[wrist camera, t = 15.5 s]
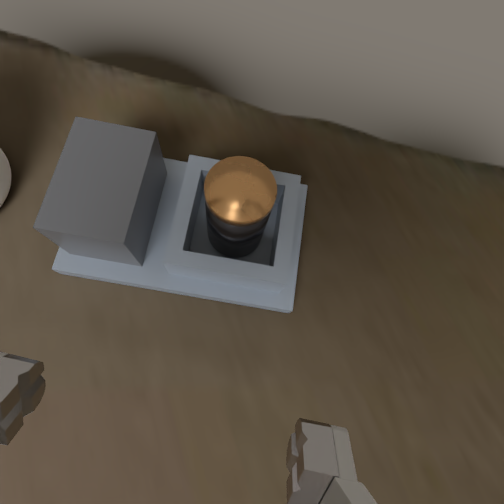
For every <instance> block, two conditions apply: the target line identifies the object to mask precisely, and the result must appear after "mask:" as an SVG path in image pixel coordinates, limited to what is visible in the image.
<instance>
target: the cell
mask: <svg viewBox="0 0 504 504" xmlns="http://www.w3.org/2000/svg"><path fill="white" fill-rule="evenodd" d="M204 196H205V208H206V220H207V233H208V238H209V241H210V243H211V245H212V246H213V247H214V249H215V250H216V251H218V252H219V253H221V254H222V255H225V256H228V257H234V258H238V257H243V256H246V255H248V254H250V253H252V252H253V251H254V250H255V249H256V248H257V247H258V245H259V244H260V241H261V239H262V236H263V233H264V230H265V228H266V225H267V222H268V219H269V217H270V214H271V211H272V208H273V205H274V203H275V200H276V196H277V184H276V180H275V178H274V176H273V174H272V172H271V171H270V170H269V169H268V168H267V167H266V166H265V165H264V164H263V163H261V162H260V161H258V160H256V159H253V158H251V157H246V156H232V157H228V158H225V159H223V160H221V161H219V162H217V163H216V164H215V165H214V166H213V167H212V168H211V169H210V170H209V172H208V174H207V176H206V178H205V182H204Z"/></svg>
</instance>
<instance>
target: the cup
mask: <svg viewBox="0 0 504 504" xmlns="http://www.w3.org/2000/svg"><path fill="white" fill-rule="evenodd" d="M10 186H11V168H10V164H9V162H8V159H7V157H6V155H5V154H4V152H3V151H2V150H1V148H0V207H1V206H2V204H3V203H4V201H5V199H6V197H7V195H8V193H9V190H10Z"/></svg>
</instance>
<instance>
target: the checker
mask: <svg viewBox="0 0 504 504" xmlns="http://www.w3.org/2000/svg"><path fill="white" fill-rule="evenodd" d="M219 161H221V160H216V159H211V158H206V157H201V156H195V155H189V159H188V162H183V161H178V160H172V159H167V158H163V156H162V152H161V148H160V144H159V141H158V137H157V133H156V132H154V131H149V130H143V129H138V128H133V127H128V126H123V125H118V124H112V123H107V122H102V121H97V120H92V119H86V118H81V117H75V120H74V122H73V125H72V127H71V130H70V133H69V135H68V138H67V140H66V143H65V146H64V148H63V151H62V153H61V156H60V159H59V161H58V164H57V166H56V169H55V172H54V174H53V177H52V179H51V182H50V184H49V187H48V190H47V192H46V195H45V197H44V200H43V203H42V205H41V208H40V210H39V213H38V216H37V218H36V221H35V223H34V226H33V228H35V229H36V230H37V231H39V232H40V233H41V234H43V235H44V236H46V237H47V238H48V239H50V240H51V241H53V242H54V243H55V244H57V245H58V246H60V247H59V250H58V253H57V255H56V258H55V261H54V264H53V267H52V270H54V271H56V272H58V273H60V274H65V275H71V276H77V277H82V278H88V279H94V280H100V281H106V282H111V283H117V284H123V285H129V286H134V287H140V288H146V289H152V290H158V291H163V292H169V293H175V294H181V295H186V296H192V297H198V298H204V299H209V300H215V301H221V302H227V303H233V304H238V305H244V306H250V307H256V308H261V309H267V310H273V311H279V312H285V313H290V312H292V311H293V303H294V294H295V286H296V278H297V269H298V261H299V252H300V244H301V236H302V227H303V219H304V211H305V202H306V194H307V186H308V185H304V184H300V181H301V176H300V175H295V174H290V173H284V172H279V171H274V170H270V171H271V172H272V174H273V176H274V178H275V180H276V184H277V196H276V200H275V203H274V205H273V208H272V211H271V214H270V217H269V219H268V222H267V225H266V228H265V230H264V233H263V236H262V239H261V241H260V244H259V245H258V247H257V248H256V249H255V250H254V251H253V252H252V253H250V254H248V255H246V256H243V257H238V258H234V257H228V256H225V255H222V254H221V253H219V252H218V251H216V250H215V249H214V247H213V246H212V245H211V243H210V241H209V238H208V233H207V220H206V208H205V196H204V182H205V178H206V176H207V174H208V172H209V170H210V169H211V168H212V167H213V166H214V165H215V164H216V163H217V162H219Z"/></svg>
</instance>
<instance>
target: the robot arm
mask: <svg viewBox="0 0 504 504" xmlns="http://www.w3.org/2000/svg"><path fill="white" fill-rule="evenodd" d="M43 371H44V364H43V362H40V361H36V360H32V359H28V358H24V357H20V356H16V355H12V354H8V353H4V352H0V444H3V445H8V444H9V443H10V441H11V440H12V439H13V438H14V436H15V435H16V434H17V432H18V431H19V430H20V428H21V427H22V426H23V417H24V416H26V415H28V414H29V413H31V412H33V411H34V410H35V408H36V407H37V406H38V404H39V403H40V401H41V399H42V397H43V394H44V391H45V379H44V378H43V377H42V376H41V373H42V372H43ZM286 466H287V468H288V470H289V472H290V475H289V477H288V479H287V504H377V503H376V501H375V500H374V498H373V497H372V496H371V494H370V493H369V491H368V490H367V489H366V487H365V486H364V484H363V483H361V482H358V480H357V475H356V470H355V465H354V460H353V454H352V449H351V444H350V439H349V434H348V431H347V429H346V428H343V427H338V426H334V425H329V424H326V423H321V422H317V421H312V420H307V419H302V418H299V419H298V420H297V422H296V425H295V433H293V434H291V437H290V439H289V443H288V448H287V457H286Z"/></svg>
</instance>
